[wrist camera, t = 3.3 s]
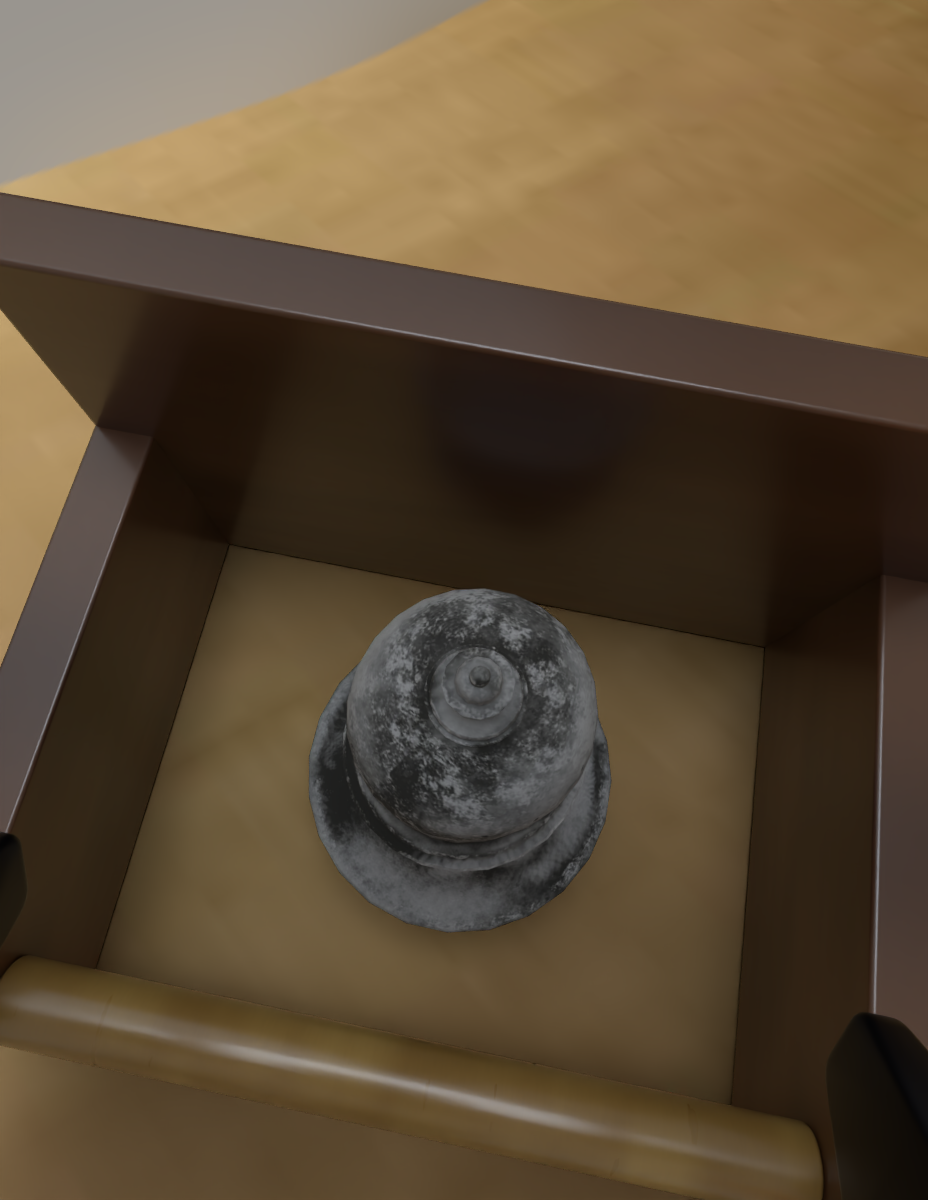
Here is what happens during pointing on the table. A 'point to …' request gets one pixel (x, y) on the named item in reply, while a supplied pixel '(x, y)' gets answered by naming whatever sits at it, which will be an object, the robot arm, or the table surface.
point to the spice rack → (472, 561)
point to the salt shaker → (462, 763)
